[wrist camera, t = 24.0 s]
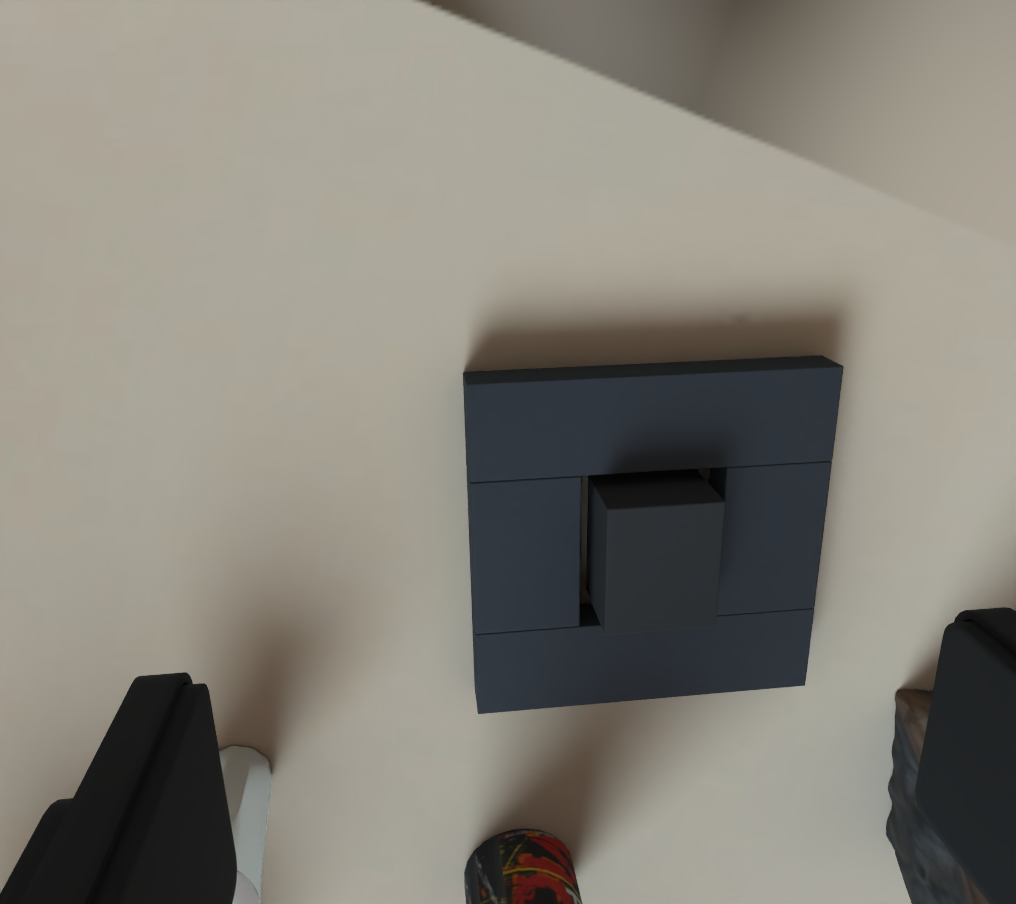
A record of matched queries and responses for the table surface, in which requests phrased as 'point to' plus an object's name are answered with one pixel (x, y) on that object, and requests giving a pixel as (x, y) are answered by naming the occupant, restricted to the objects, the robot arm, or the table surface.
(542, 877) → the deodorant
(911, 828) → the rock
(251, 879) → the milkshake
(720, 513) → the small dark rectangular block
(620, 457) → the socket pad
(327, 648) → the table surface
